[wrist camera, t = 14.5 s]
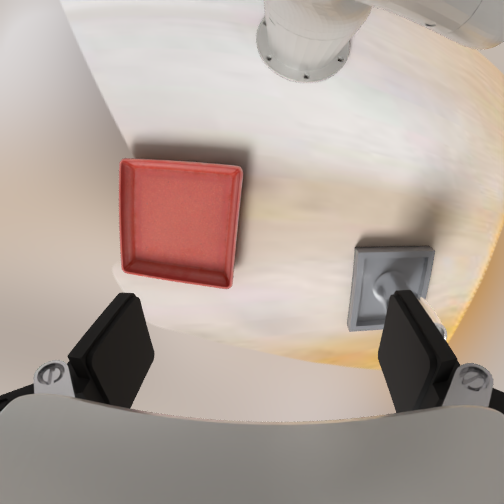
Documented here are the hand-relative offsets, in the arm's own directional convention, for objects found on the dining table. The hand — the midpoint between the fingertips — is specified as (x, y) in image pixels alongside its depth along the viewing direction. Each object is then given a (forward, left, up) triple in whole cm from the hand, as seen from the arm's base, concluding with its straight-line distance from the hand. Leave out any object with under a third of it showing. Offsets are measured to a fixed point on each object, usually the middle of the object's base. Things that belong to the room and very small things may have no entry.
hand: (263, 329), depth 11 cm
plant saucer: (+5, -14, -34) cm, 37 cm away
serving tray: (+17, +19, -33) cm, 42 cm away
